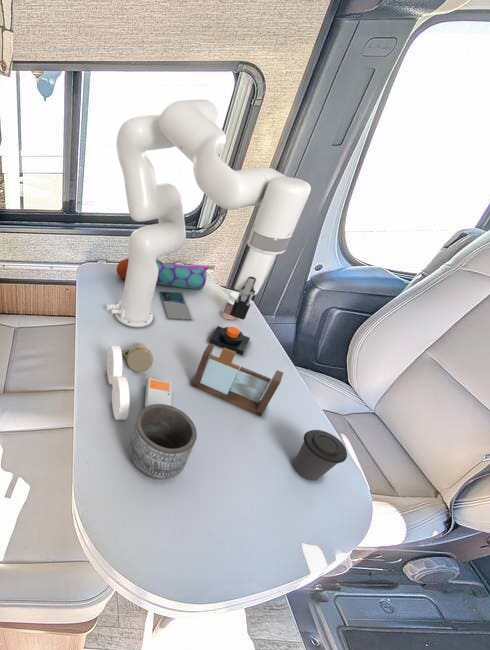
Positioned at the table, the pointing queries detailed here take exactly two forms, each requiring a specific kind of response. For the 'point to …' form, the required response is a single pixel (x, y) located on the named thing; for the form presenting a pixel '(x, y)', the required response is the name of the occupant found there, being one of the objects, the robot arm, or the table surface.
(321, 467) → the coffee cup
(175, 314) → the smartphone
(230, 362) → the window pane
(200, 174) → the robot arm
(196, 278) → the pencil case
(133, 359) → the mug
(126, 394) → the letter
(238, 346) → the button housing
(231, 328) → the button
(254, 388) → the window frame
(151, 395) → the cosmetic box
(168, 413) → the planter
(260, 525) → the table surface
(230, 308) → the pill bottle
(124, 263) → the fruit
